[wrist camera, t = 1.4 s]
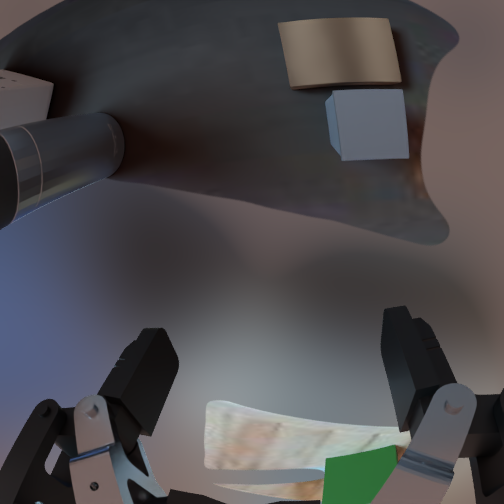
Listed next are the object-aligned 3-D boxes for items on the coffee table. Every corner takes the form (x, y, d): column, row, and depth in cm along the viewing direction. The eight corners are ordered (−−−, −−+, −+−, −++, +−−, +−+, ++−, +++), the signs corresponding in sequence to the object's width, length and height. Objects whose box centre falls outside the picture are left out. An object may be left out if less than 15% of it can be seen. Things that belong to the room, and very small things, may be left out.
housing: (329, 145, 29) (342, 161, 18) (323, 101, 27) (333, 90, 16) (373, 142, 28) (409, 158, 17) (368, 99, 26) (402, 89, 15)
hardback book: (333, 467, 60) (325, 543, 39) (325, 458, 57) (317, 541, 36) (397, 454, 54) (400, 533, 33) (395, 444, 51) (398, 531, 30)
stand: (291, 89, 27) (290, 86, 24) (280, 31, 24) (277, 23, 21) (393, 84, 24) (401, 81, 22) (381, 26, 21) (388, 18, 19)
